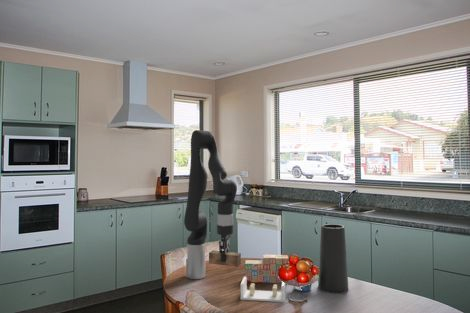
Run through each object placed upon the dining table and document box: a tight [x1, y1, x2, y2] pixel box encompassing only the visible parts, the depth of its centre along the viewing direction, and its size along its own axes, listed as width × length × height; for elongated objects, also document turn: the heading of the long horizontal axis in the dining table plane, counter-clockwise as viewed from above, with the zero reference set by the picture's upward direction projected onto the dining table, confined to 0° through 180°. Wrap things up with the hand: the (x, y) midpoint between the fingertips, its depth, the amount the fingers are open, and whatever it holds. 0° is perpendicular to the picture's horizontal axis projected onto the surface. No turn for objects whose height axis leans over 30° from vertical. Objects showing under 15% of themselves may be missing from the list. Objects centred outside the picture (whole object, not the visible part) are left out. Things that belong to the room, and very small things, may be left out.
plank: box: [208, 250, 242, 268], centre depth 175 cm, size 14×4×5 cm, turn 71°
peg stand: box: [239, 276, 287, 303], centre depth 166 cm, size 19×10×7 cm, turn 80°
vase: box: [317, 223, 349, 294], centre depth 177 cm, size 14×14×29 cm
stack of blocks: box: [244, 254, 289, 284], centre depth 188 cm, size 21×6×12 cm, turn 84°
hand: (224, 260), depth 175 cm, fingers closed on plank, 4 cm apart
